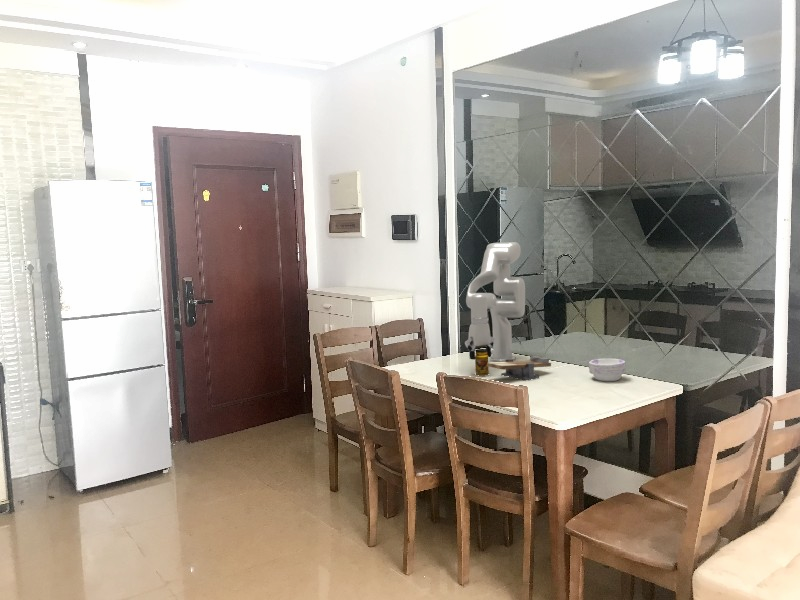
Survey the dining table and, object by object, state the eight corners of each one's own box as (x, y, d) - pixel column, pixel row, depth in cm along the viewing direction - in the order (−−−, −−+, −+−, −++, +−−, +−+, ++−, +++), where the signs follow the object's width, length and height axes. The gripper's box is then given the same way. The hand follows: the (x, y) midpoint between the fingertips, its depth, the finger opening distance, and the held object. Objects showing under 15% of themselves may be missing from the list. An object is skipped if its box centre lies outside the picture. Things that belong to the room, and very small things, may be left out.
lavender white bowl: (588, 375, 292) (588, 357, 291) (624, 375, 288) (624, 357, 287) (589, 382, 277) (589, 364, 277) (627, 383, 273) (627, 364, 273)
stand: (501, 375, 299) (500, 360, 299) (514, 372, 304) (513, 357, 303) (526, 380, 286) (525, 365, 285) (539, 378, 291) (538, 362, 290)
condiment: (480, 377, 298) (479, 351, 297) (469, 374, 305) (468, 348, 304) (493, 375, 301) (492, 349, 300) (482, 372, 309) (481, 347, 308)
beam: (486, 366, 290) (487, 358, 290) (535, 363, 307) (535, 355, 307) (502, 369, 282) (502, 361, 282) (551, 366, 299) (551, 358, 298)
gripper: (488, 319, 309) (489, 354, 310) (459, 322, 299) (460, 359, 300) (499, 320, 302) (499, 356, 304) (470, 323, 293) (471, 361, 294)
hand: (480, 358), depth 302 cm, fingers open, 9 cm apart
